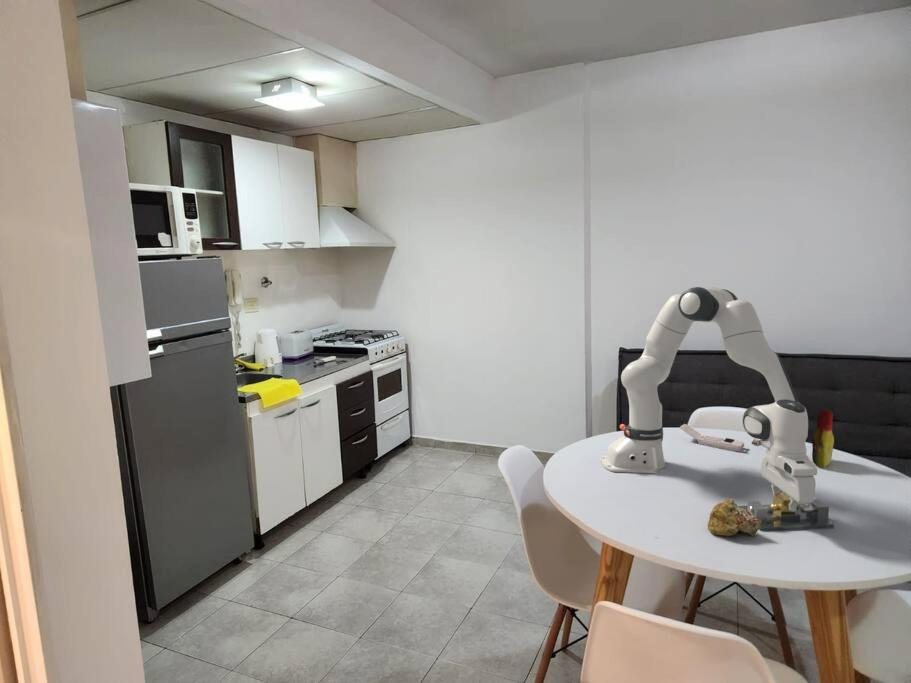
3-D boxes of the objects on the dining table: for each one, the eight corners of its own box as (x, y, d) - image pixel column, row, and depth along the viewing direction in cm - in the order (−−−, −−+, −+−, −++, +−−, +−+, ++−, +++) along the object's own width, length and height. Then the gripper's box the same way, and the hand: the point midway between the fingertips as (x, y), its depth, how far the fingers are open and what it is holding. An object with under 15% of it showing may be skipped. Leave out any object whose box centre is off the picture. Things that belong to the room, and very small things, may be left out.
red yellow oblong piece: (830, 471, 192) (834, 414, 189) (808, 467, 196) (812, 411, 193) (833, 460, 201) (837, 406, 198) (812, 456, 205) (816, 403, 202)
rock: (744, 549, 155) (766, 522, 151) (732, 555, 149) (754, 528, 145) (708, 518, 162) (728, 492, 159) (695, 522, 157) (715, 495, 153)
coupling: (774, 518, 159) (776, 500, 158) (767, 512, 163) (768, 494, 162) (800, 517, 159) (801, 499, 158) (792, 511, 163) (793, 493, 162)
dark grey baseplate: (759, 530, 155) (760, 513, 154) (736, 509, 168) (737, 493, 167) (835, 528, 155) (836, 510, 154) (805, 506, 168) (806, 490, 167)
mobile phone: (684, 423, 230) (750, 434, 214) (683, 437, 231) (750, 449, 215) (678, 427, 226) (745, 439, 209) (678, 441, 227) (745, 454, 210)
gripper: (756, 445, 169) (754, 489, 171) (797, 472, 148) (794, 522, 151) (777, 445, 169) (775, 488, 171) (821, 472, 148) (818, 521, 151)
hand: (784, 504), depth 161 cm, fingers open, 5 cm apart
